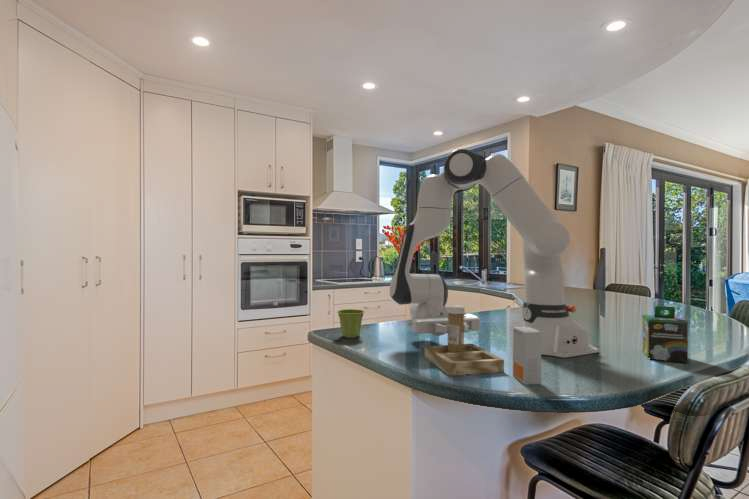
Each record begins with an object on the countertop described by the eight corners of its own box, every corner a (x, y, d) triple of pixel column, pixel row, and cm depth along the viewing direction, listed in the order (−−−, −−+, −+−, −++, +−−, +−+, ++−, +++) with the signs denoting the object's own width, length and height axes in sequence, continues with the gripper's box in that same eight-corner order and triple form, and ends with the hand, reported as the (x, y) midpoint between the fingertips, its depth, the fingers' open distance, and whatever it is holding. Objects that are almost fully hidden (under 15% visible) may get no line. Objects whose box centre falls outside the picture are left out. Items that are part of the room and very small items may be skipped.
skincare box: (512, 376, 94) (512, 326, 94) (529, 375, 95) (529, 326, 95) (523, 385, 88) (524, 332, 88) (541, 384, 89) (542, 331, 89)
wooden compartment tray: (471, 353, 114) (472, 343, 114) (503, 371, 98) (504, 359, 98) (424, 357, 110) (424, 346, 110) (449, 376, 94) (449, 363, 94)
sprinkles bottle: (467, 355, 107) (468, 306, 107) (455, 358, 105) (456, 307, 104) (455, 351, 111) (456, 304, 111) (443, 353, 108) (444, 305, 108)
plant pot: (336, 333, 140) (337, 309, 139) (363, 333, 141) (363, 308, 140) (337, 339, 130) (337, 313, 130) (365, 339, 131) (365, 313, 131)
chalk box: (679, 355, 114) (679, 304, 113) (688, 364, 105) (689, 309, 105) (641, 352, 117) (641, 302, 117) (647, 360, 109) (648, 306, 109)
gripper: (405, 311, 118) (421, 319, 104) (467, 308, 123) (490, 316, 109) (404, 332, 118) (421, 343, 104) (467, 329, 123) (490, 339, 109)
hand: (457, 329), depth 107 cm, fingers closed on sprinkles bottle, 4 cm apart
